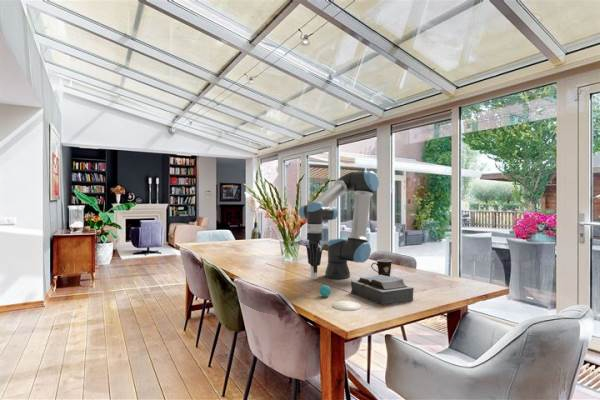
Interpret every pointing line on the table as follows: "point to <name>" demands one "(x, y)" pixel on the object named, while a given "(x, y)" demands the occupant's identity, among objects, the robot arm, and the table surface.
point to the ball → (325, 290)
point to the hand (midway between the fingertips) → (313, 278)
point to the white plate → (346, 305)
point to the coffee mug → (383, 267)
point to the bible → (382, 289)
